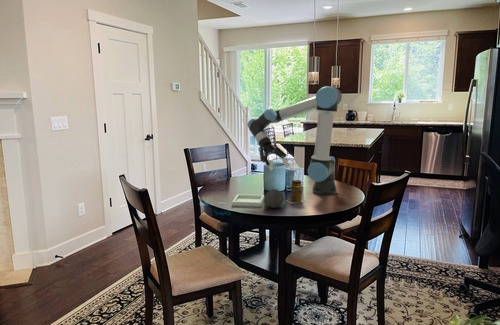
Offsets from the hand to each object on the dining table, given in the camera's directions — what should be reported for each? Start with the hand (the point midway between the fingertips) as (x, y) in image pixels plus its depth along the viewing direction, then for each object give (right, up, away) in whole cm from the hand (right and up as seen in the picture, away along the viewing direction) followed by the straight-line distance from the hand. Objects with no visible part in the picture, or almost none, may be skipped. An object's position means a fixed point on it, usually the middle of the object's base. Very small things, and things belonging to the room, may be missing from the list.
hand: (280, 168), depth 207 cm
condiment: (+8, -19, -5) cm, 21 cm away
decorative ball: (-5, -21, -17) cm, 28 cm away
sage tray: (-19, -19, -7) cm, 28 cm away
